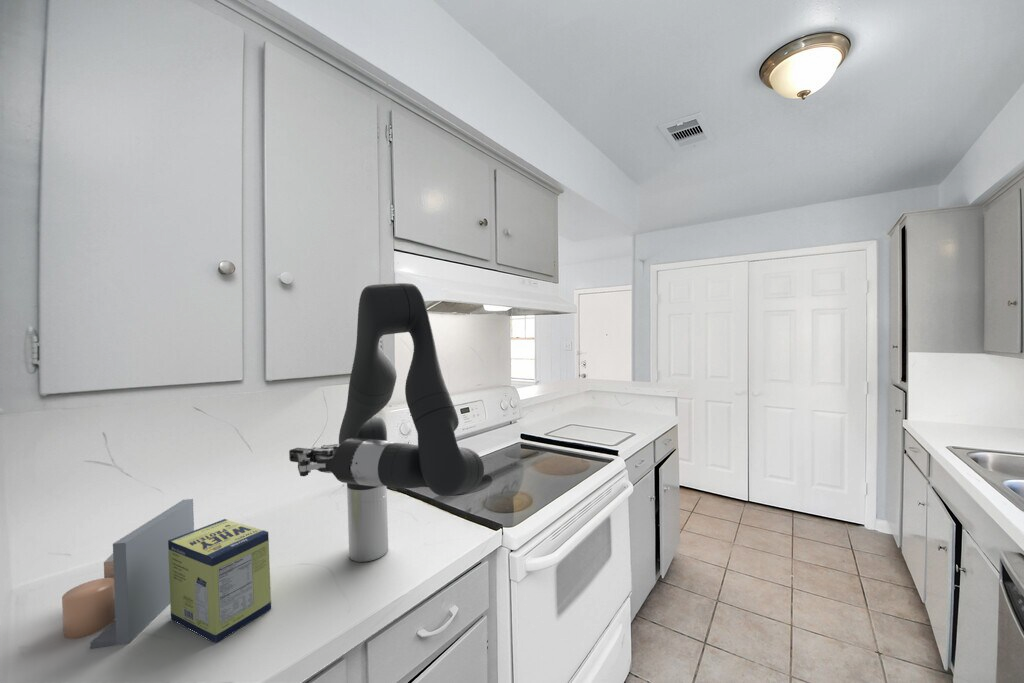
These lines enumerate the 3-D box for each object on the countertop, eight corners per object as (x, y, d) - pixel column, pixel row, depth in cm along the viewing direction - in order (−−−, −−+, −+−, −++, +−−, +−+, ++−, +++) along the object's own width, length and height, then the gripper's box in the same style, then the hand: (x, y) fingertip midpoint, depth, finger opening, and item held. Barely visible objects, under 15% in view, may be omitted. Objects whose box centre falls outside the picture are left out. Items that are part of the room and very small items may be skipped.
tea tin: (116, 592, 88) (114, 551, 88) (146, 586, 90) (144, 545, 90) (105, 606, 83) (103, 562, 83) (137, 599, 85) (135, 556, 85)
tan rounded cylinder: (85, 615, 81) (83, 580, 81) (125, 610, 82) (124, 575, 82) (51, 641, 74) (50, 603, 74) (96, 635, 75) (95, 597, 75)
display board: (165, 581, 91) (162, 501, 91) (195, 578, 92) (192, 498, 92) (90, 648, 72) (86, 546, 72) (129, 643, 73) (125, 542, 73)
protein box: (226, 589, 88) (224, 517, 88) (273, 608, 81) (270, 531, 81) (168, 620, 79) (165, 539, 79) (215, 645, 72) (212, 557, 72)
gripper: (392, 431, 76) (319, 426, 82) (339, 450, 64) (258, 443, 70) (393, 471, 76) (321, 463, 82) (341, 498, 64) (260, 487, 70)
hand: (292, 454), depth 76 cm, fingers closed
